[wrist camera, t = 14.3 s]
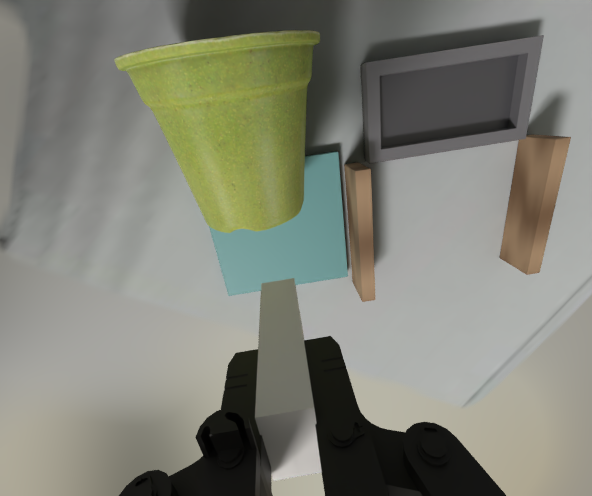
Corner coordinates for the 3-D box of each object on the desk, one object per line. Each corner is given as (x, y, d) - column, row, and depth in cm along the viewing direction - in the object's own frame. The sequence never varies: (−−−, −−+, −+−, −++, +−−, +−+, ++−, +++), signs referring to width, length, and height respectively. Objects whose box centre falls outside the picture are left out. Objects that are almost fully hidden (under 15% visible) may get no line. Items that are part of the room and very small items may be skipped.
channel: (344, 164, 21) (355, 171, 19) (532, 134, 22) (570, 137, 19) (352, 282, 26) (362, 301, 23) (510, 256, 26) (539, 272, 23)
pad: (196, 173, 21) (194, 174, 20) (336, 151, 21) (338, 152, 20) (229, 291, 25) (228, 295, 24) (346, 272, 25) (347, 276, 25)
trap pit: (360, 65, 19) (366, 62, 18) (528, 39, 19) (543, 35, 18) (364, 161, 21) (369, 163, 20) (512, 137, 22) (525, 138, 21)
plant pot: (271, 177, 24) (248, 50, 20) (364, 202, 18) (362, 22, 13) (159, 220, 20) (95, 67, 15) (229, 276, 13) (155, 37, 9)
